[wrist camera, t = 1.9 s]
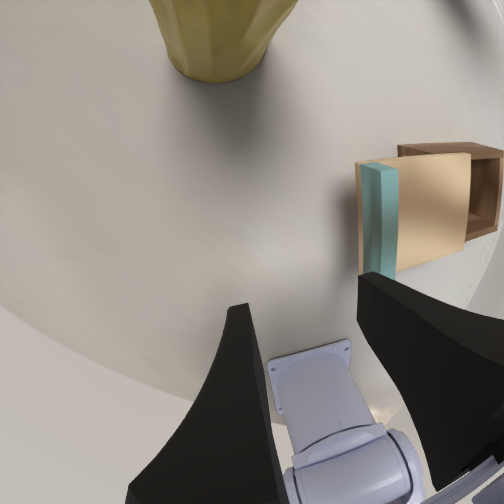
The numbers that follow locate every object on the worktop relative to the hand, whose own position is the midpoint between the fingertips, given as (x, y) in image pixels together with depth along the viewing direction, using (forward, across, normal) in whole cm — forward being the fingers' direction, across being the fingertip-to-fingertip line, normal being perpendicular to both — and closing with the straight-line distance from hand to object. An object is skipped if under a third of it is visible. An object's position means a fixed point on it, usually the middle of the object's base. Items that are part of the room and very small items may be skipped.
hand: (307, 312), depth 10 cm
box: (+10, -16, 0) cm, 19 cm away
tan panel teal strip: (+6, -9, 0) cm, 11 cm away
